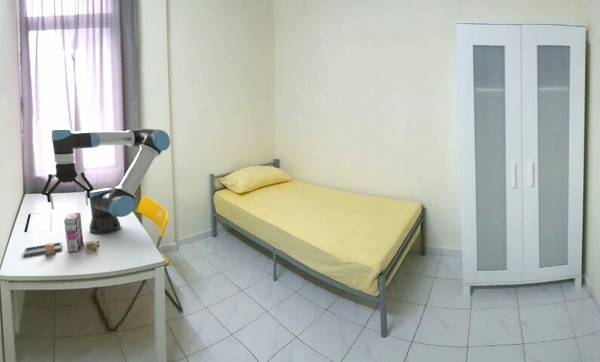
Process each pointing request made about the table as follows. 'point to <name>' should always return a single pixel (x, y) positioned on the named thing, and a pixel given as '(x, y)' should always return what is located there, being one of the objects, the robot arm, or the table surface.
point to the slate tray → (40, 249)
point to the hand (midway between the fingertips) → (70, 206)
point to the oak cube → (90, 246)
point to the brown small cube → (50, 249)
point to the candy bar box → (73, 232)
